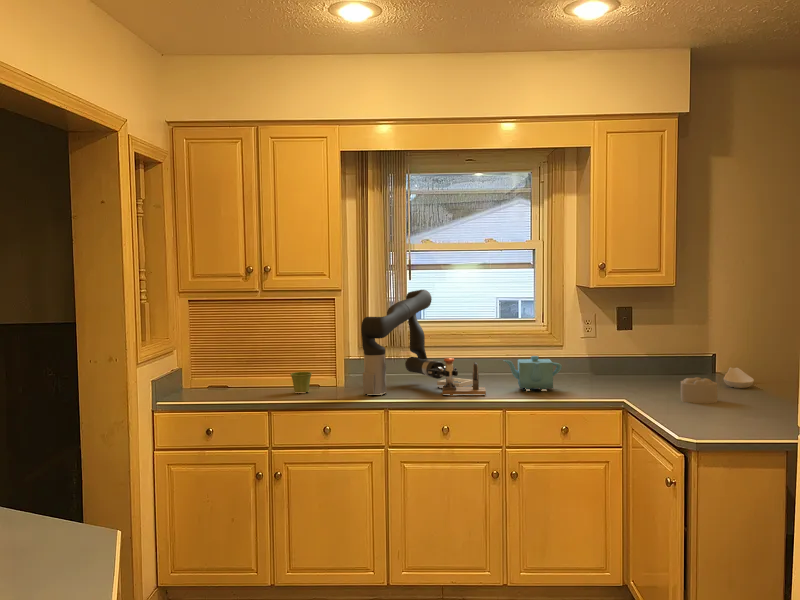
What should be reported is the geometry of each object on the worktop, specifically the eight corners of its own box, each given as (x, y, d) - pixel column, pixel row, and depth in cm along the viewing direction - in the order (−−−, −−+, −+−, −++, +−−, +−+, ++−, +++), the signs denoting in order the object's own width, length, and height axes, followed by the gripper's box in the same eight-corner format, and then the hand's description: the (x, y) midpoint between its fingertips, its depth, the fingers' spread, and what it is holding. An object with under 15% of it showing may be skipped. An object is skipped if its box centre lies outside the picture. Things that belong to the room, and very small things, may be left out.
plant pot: (314, 393, 312) (314, 373, 311) (293, 395, 308) (293, 375, 308) (309, 390, 320) (308, 371, 320) (288, 392, 317) (288, 372, 316)
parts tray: (459, 390, 313) (459, 383, 312) (437, 387, 320) (437, 381, 320) (474, 386, 322) (474, 379, 322) (453, 384, 329) (452, 377, 329)
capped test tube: (450, 390, 300) (450, 359, 300) (442, 389, 303) (441, 359, 303) (456, 389, 304) (456, 358, 303) (448, 388, 307) (447, 357, 306)
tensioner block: (485, 395, 297) (485, 363, 297) (442, 396, 299) (441, 364, 298) (484, 391, 307) (484, 360, 307) (442, 392, 309) (442, 361, 308)
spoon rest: (756, 390, 298) (756, 373, 298) (726, 389, 301) (726, 372, 301) (744, 381, 321) (744, 365, 321) (716, 381, 324) (716, 365, 324)
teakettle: (565, 389, 308) (565, 355, 308) (537, 395, 296) (537, 359, 296) (531, 385, 323) (530, 352, 322) (503, 390, 311) (502, 356, 310)
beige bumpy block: (680, 398, 284) (680, 376, 284) (715, 399, 280) (715, 377, 280) (681, 402, 274) (681, 380, 274) (718, 404, 270) (718, 381, 270)
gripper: (419, 361, 313) (437, 366, 297) (447, 359, 319) (467, 363, 303) (419, 378, 313) (438, 384, 298) (447, 376, 319) (467, 381, 304)
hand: (452, 373), depth 301 cm, fingers closed on capped test tube, 3 cm apart
